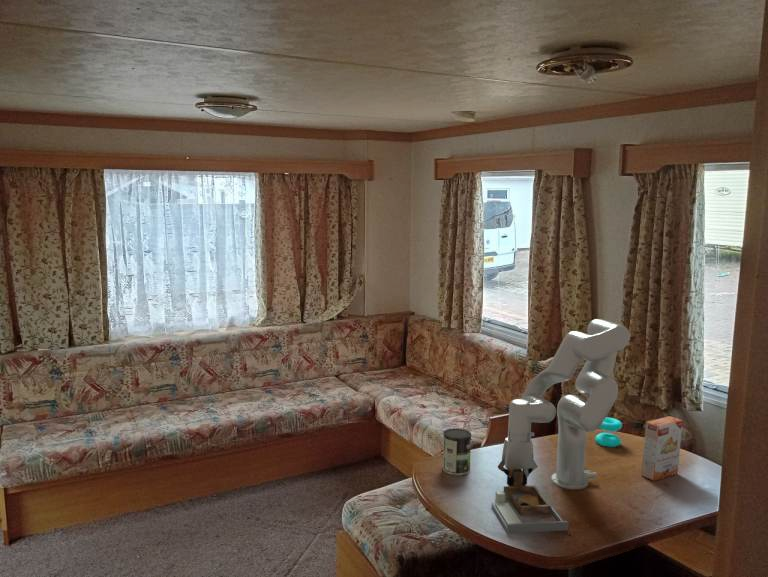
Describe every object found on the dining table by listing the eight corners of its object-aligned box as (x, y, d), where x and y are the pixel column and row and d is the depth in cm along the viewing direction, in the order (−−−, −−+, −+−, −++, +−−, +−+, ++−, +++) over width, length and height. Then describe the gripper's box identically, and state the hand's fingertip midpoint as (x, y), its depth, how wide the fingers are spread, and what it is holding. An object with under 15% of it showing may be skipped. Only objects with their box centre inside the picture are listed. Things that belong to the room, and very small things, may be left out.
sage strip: (505, 502, 211) (505, 490, 210) (523, 530, 193) (524, 518, 192) (492, 502, 210) (492, 491, 210) (509, 531, 192) (509, 518, 192)
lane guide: (547, 505, 210) (547, 496, 209) (567, 531, 194) (567, 521, 193) (491, 507, 208) (492, 498, 207) (507, 534, 191) (507, 524, 191)
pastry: (523, 498, 215) (524, 487, 214) (543, 503, 212) (543, 492, 211) (514, 509, 207) (515, 498, 206) (535, 515, 204) (535, 504, 203)
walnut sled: (530, 486, 222) (531, 467, 221) (550, 513, 204) (552, 492, 203) (499, 488, 221) (500, 468, 220) (517, 514, 202) (518, 494, 202)
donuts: (599, 423, 259) (594, 415, 269) (597, 447, 260) (593, 438, 270) (625, 425, 258) (619, 417, 267) (623, 449, 259) (617, 439, 269)
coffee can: (471, 465, 241) (472, 429, 239) (469, 476, 231) (470, 439, 229) (443, 462, 243) (444, 427, 241) (440, 473, 233) (441, 436, 231)
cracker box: (654, 482, 228) (659, 426, 226) (640, 476, 234) (644, 421, 231) (679, 474, 236) (683, 419, 233) (664, 468, 241) (669, 414, 238)
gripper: (538, 431, 222) (536, 481, 225) (492, 432, 220) (490, 482, 223) (546, 439, 215) (543, 490, 218) (498, 440, 213) (496, 492, 216)
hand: (516, 486), depth 220 cm, fingers open, 4 cm apart
